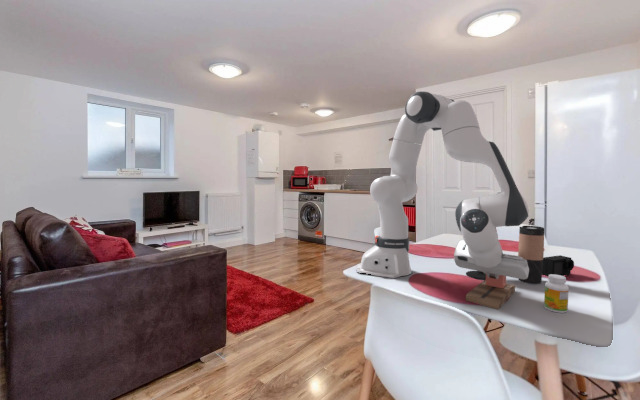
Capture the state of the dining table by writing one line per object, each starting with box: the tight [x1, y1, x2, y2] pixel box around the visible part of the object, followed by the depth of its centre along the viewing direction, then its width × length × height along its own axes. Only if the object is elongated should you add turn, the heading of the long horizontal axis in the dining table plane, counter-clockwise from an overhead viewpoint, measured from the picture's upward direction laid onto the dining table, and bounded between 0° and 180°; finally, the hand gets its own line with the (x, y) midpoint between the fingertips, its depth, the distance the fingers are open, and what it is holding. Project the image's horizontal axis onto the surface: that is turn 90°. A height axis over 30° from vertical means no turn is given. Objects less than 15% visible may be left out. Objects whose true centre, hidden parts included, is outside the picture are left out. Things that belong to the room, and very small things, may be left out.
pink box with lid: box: [486, 275, 507, 289], centre depth 101 cm, size 5×6×10 cm
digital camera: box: [542, 255, 575, 277], centre depth 118 cm, size 10×5×7 cm, turn 109°
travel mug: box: [517, 225, 545, 285], centre depth 111 cm, size 8×8×20 cm
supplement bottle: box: [543, 274, 570, 314], centre depth 87 cm, size 5×5×10 cm
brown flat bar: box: [465, 279, 516, 310], centre depth 98 cm, size 20×9×2 cm, turn 136°
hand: (493, 276), depth 99 cm, fingers closed, pressing on pink box with lid
